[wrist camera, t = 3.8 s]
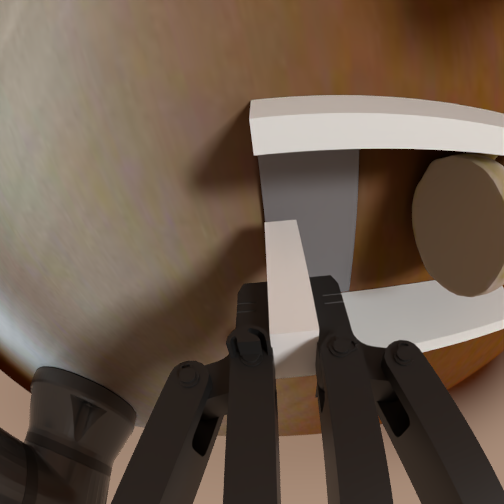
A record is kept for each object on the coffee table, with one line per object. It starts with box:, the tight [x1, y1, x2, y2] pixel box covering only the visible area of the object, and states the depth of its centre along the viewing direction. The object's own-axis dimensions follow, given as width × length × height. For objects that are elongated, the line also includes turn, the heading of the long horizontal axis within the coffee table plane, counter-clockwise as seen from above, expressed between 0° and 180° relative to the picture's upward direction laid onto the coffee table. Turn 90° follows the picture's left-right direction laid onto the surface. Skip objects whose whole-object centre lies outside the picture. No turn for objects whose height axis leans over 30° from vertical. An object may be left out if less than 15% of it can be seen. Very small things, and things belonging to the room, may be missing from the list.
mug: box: [412, 153, 504, 297], centre depth 12 cm, size 8×10×10 cm
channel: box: [249, 95, 504, 352], centre depth 14 cm, size 18×14×5 cm
